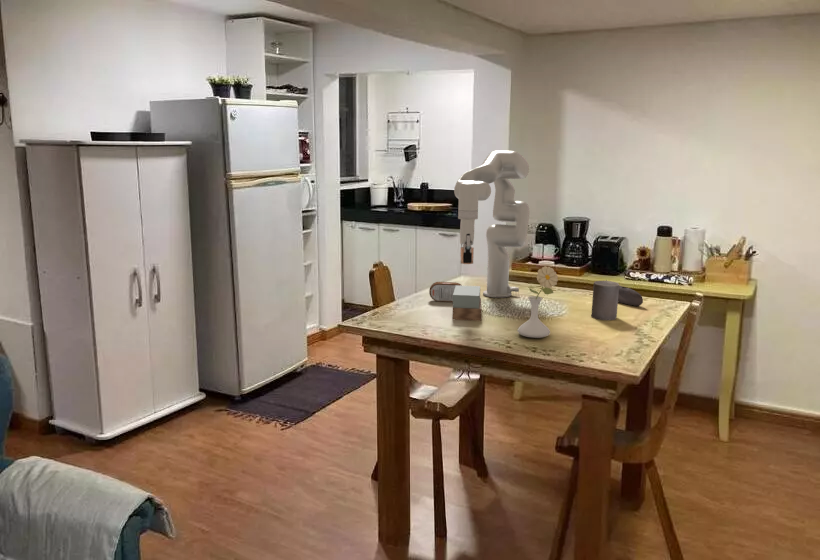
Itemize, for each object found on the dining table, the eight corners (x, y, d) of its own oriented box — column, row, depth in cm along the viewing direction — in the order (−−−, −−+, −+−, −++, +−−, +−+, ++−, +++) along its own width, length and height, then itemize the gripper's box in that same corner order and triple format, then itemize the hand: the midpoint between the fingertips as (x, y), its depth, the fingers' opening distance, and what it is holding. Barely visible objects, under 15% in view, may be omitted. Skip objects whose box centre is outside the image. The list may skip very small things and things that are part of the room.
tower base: (480, 309, 273) (480, 297, 272) (481, 321, 254) (481, 308, 253) (453, 309, 274) (453, 297, 273) (452, 320, 255) (452, 308, 254)
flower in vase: (519, 340, 228) (522, 268, 223) (515, 331, 240) (518, 262, 235) (557, 341, 228) (561, 269, 223) (552, 332, 239) (555, 263, 234)
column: (472, 261, 262) (473, 246, 261) (473, 264, 257) (474, 248, 256) (460, 261, 262) (460, 246, 261) (460, 264, 257) (461, 248, 256)
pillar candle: (586, 315, 263) (588, 278, 260) (606, 313, 267) (608, 276, 264) (601, 321, 254) (604, 283, 251) (622, 319, 258) (625, 281, 255)
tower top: (480, 298, 271) (480, 286, 270) (478, 308, 254) (479, 295, 253) (455, 297, 272) (455, 285, 271) (452, 307, 255) (452, 294, 254)
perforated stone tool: (646, 307, 277) (647, 291, 276) (637, 308, 275) (638, 292, 273) (619, 300, 290) (620, 284, 289) (610, 301, 288) (611, 285, 286)
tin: (464, 301, 285) (464, 282, 284) (464, 303, 282) (464, 283, 281) (429, 300, 287) (429, 281, 285) (428, 301, 284) (429, 282, 282)
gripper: (457, 212, 264) (456, 257, 268) (459, 217, 248) (458, 265, 251) (476, 212, 264) (475, 258, 268) (479, 217, 247) (478, 265, 251)
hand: (466, 261), depth 260 cm, fingers closed on column, 5 cm apart
